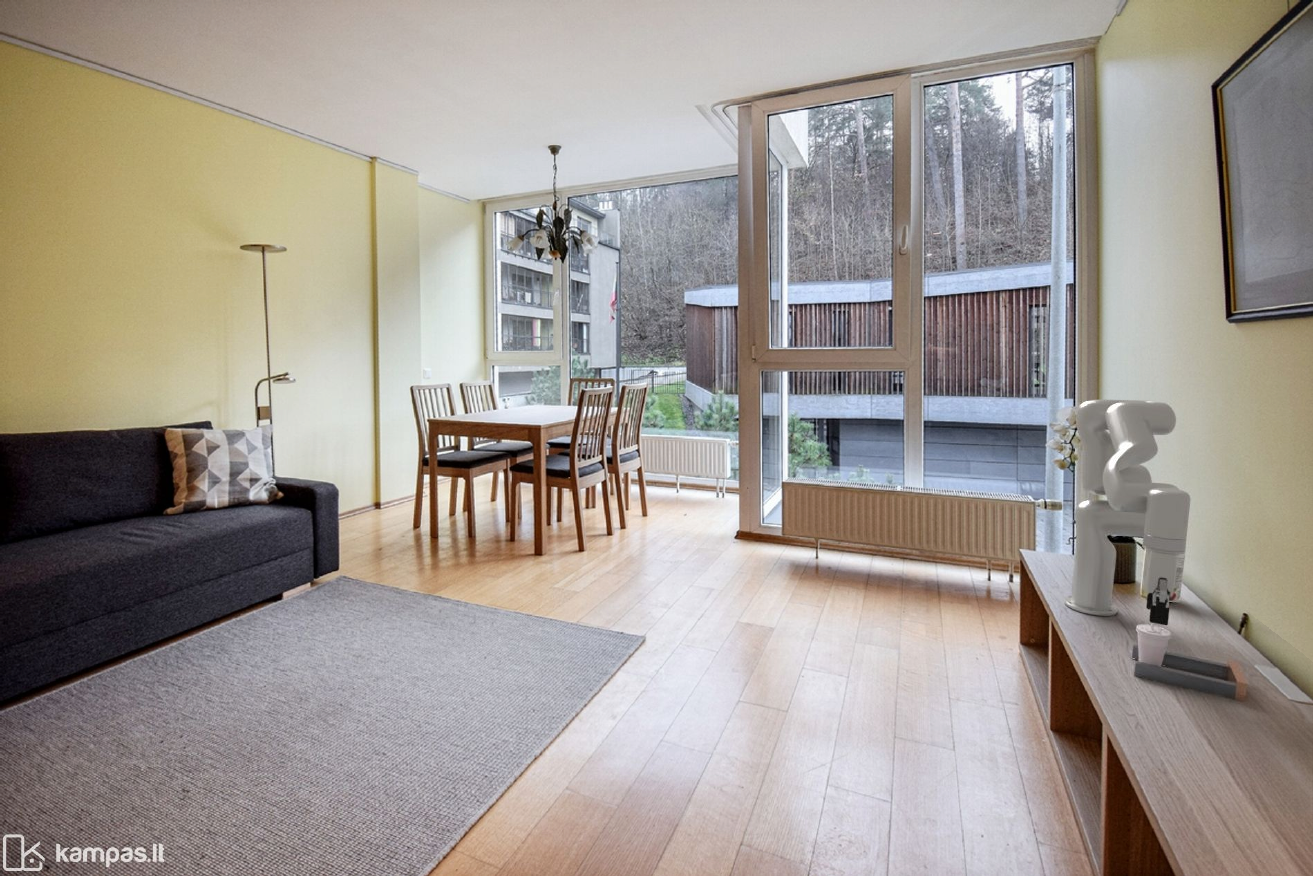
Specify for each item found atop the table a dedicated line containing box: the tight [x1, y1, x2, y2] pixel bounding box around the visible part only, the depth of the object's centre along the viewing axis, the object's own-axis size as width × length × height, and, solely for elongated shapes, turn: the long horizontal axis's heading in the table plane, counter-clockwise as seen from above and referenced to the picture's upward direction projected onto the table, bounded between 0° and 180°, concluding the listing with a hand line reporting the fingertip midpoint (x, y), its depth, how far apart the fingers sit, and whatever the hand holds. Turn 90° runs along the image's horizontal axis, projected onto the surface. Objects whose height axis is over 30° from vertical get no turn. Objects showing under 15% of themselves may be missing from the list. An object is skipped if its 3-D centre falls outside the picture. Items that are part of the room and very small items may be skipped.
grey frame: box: [1131, 644, 1248, 703], centre depth 142 cm, size 12×19×4 cm, turn 55°
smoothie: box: [1135, 622, 1172, 666], centre depth 144 cm, size 6×6×14 cm
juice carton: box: [1140, 547, 1187, 602], centre depth 187 cm, size 8×9×19 cm
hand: (1156, 616), depth 143 cm, fingers open, 9 cm apart
